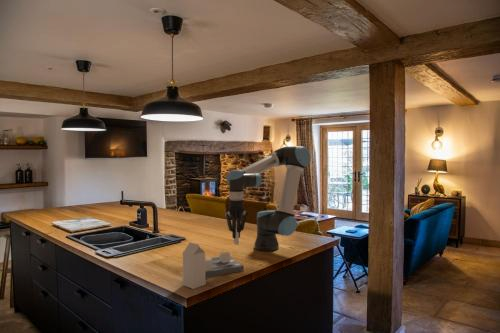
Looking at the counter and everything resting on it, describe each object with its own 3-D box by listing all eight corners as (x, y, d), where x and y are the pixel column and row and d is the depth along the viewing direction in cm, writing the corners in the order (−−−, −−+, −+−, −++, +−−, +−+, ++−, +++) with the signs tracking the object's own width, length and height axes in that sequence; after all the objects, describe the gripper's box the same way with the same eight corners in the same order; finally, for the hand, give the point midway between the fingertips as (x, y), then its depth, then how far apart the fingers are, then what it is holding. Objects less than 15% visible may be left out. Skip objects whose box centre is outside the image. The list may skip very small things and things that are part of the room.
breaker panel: (227, 259, 195) (227, 246, 195) (243, 270, 177) (243, 255, 177) (185, 266, 184) (185, 252, 184) (197, 278, 166) (197, 263, 166)
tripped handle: (226, 260, 186) (226, 250, 186) (229, 262, 183) (229, 251, 182) (219, 261, 184) (219, 251, 184) (222, 263, 181) (222, 252, 181)
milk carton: (193, 289, 153) (192, 246, 153) (183, 285, 158) (182, 243, 157) (205, 284, 159) (205, 243, 158) (195, 281, 163) (194, 240, 163)
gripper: (227, 201, 179) (227, 247, 180) (250, 199, 185) (250, 244, 186) (222, 199, 186) (222, 243, 186) (244, 198, 192) (244, 241, 192)
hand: (236, 244), depth 186 cm, fingers closed
